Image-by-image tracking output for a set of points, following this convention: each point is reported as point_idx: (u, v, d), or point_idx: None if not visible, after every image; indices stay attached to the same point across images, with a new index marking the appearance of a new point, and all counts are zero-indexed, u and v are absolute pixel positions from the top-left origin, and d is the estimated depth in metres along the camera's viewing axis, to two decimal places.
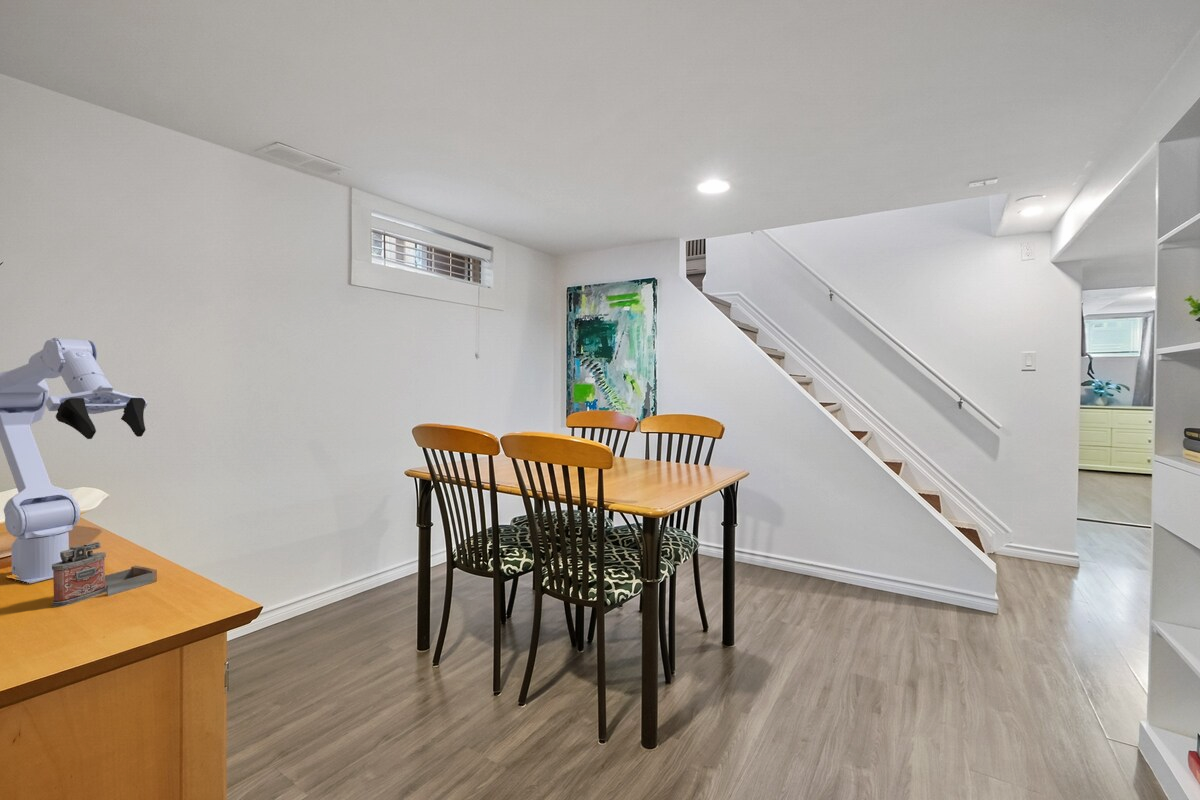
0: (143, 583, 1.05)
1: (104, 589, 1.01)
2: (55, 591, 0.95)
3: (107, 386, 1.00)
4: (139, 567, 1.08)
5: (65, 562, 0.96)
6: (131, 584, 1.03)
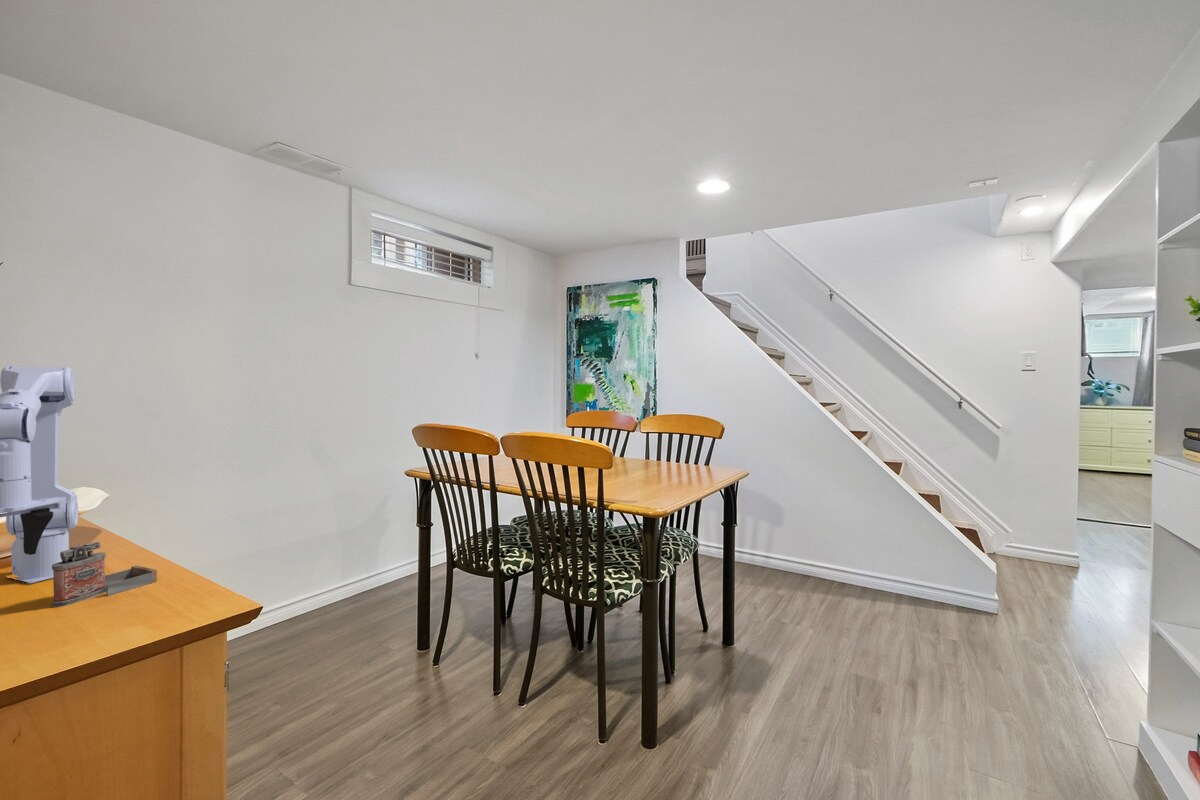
0: (143, 583, 1.05)
1: (104, 589, 1.01)
2: (55, 591, 0.95)
3: (19, 508, 0.88)
4: (139, 567, 1.08)
5: (65, 562, 0.96)
6: (131, 584, 1.03)
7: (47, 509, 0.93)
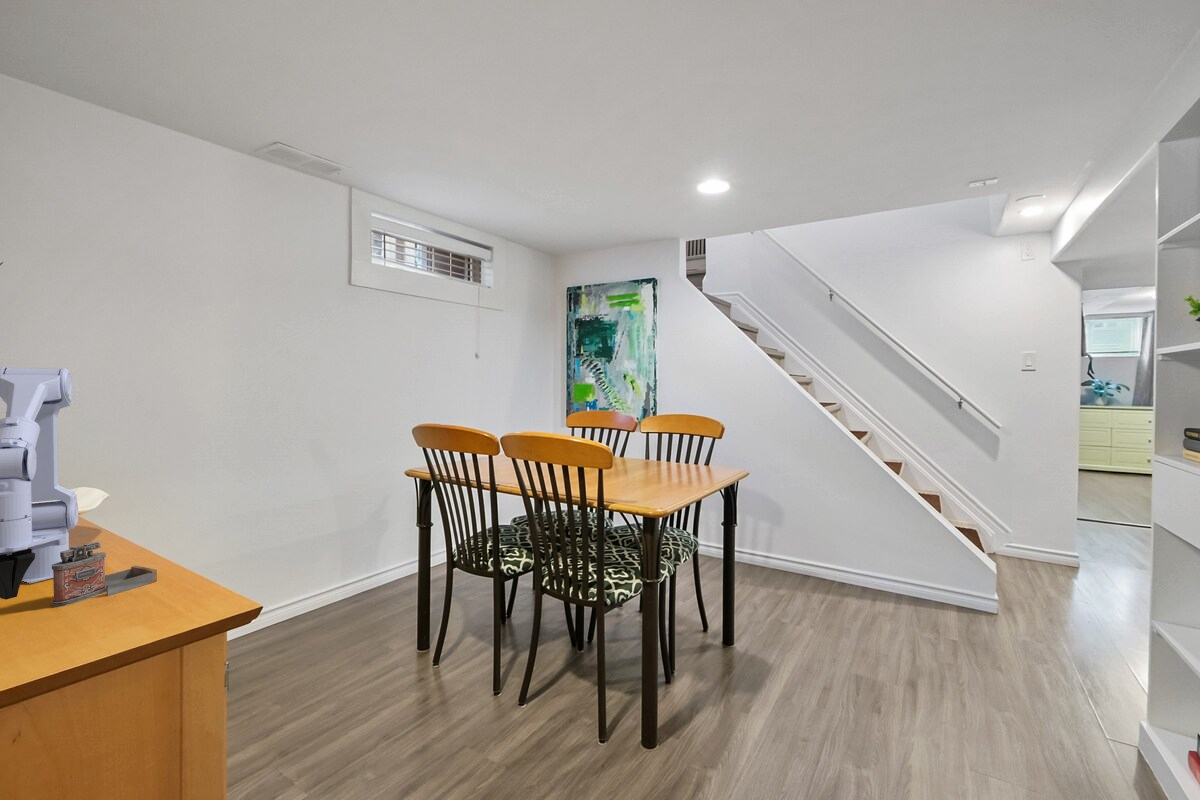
0: (143, 583, 1.05)
1: (104, 589, 1.01)
2: (55, 591, 0.95)
3: (20, 548, 0.88)
4: (139, 567, 1.08)
5: (65, 562, 0.96)
6: (131, 584, 1.03)
7: (48, 546, 0.93)
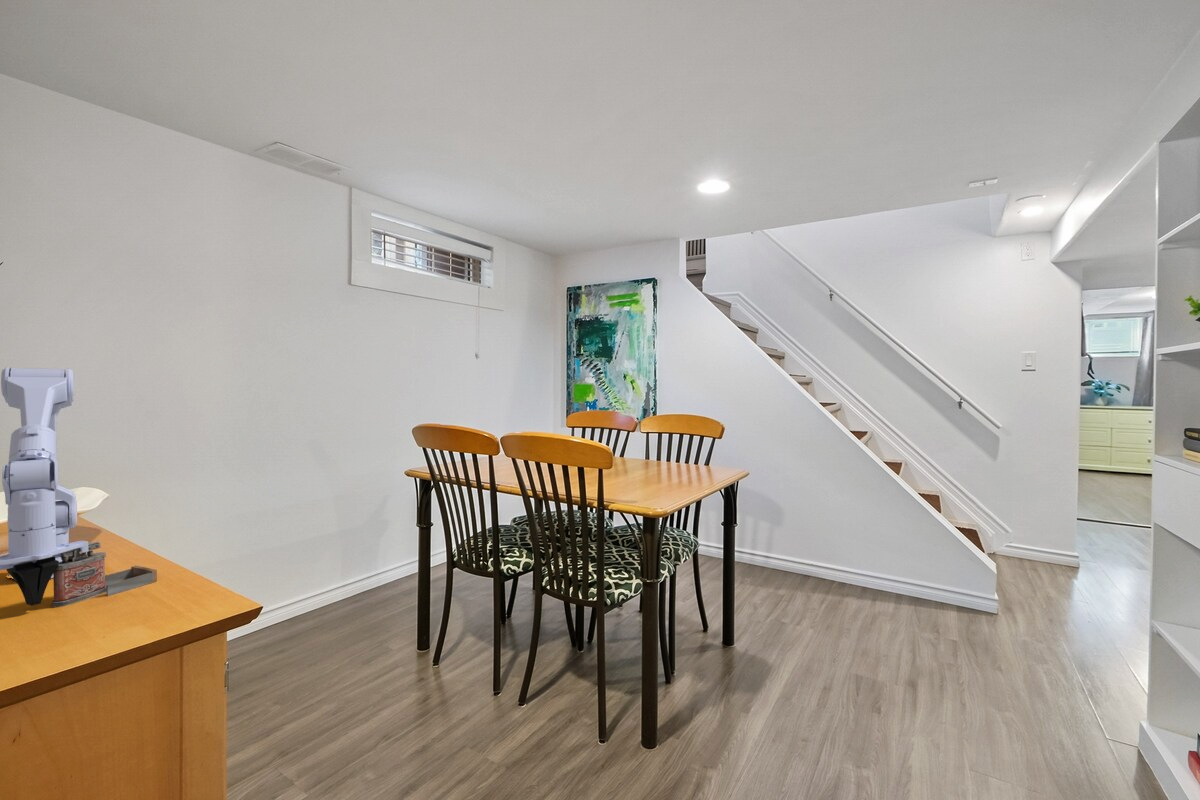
0: (143, 583, 1.05)
1: (104, 589, 1.01)
2: (55, 591, 0.95)
3: (45, 556, 0.91)
4: (139, 567, 1.08)
5: (65, 562, 0.96)
6: (131, 584, 1.03)
7: None
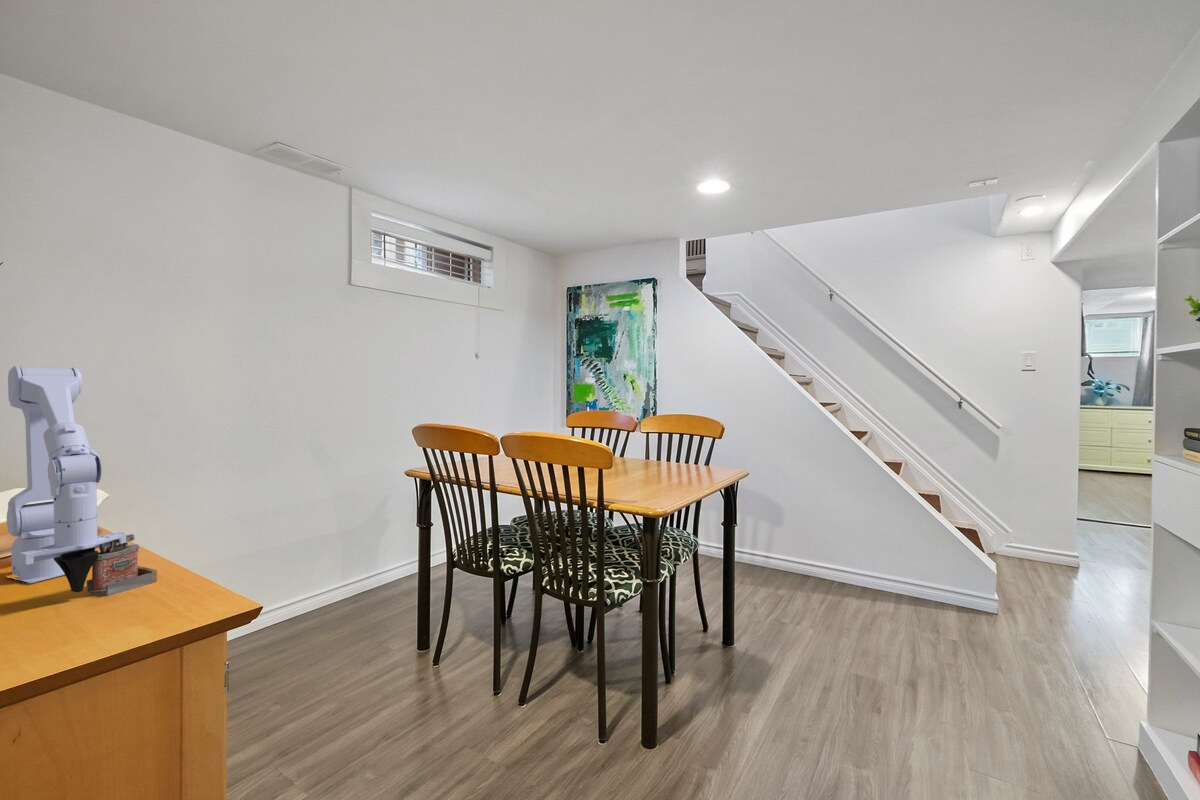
0: (143, 583, 1.05)
1: None
2: (94, 580, 1.00)
3: (89, 546, 0.96)
4: (139, 567, 1.08)
5: (103, 553, 1.01)
6: (131, 584, 1.03)
7: None
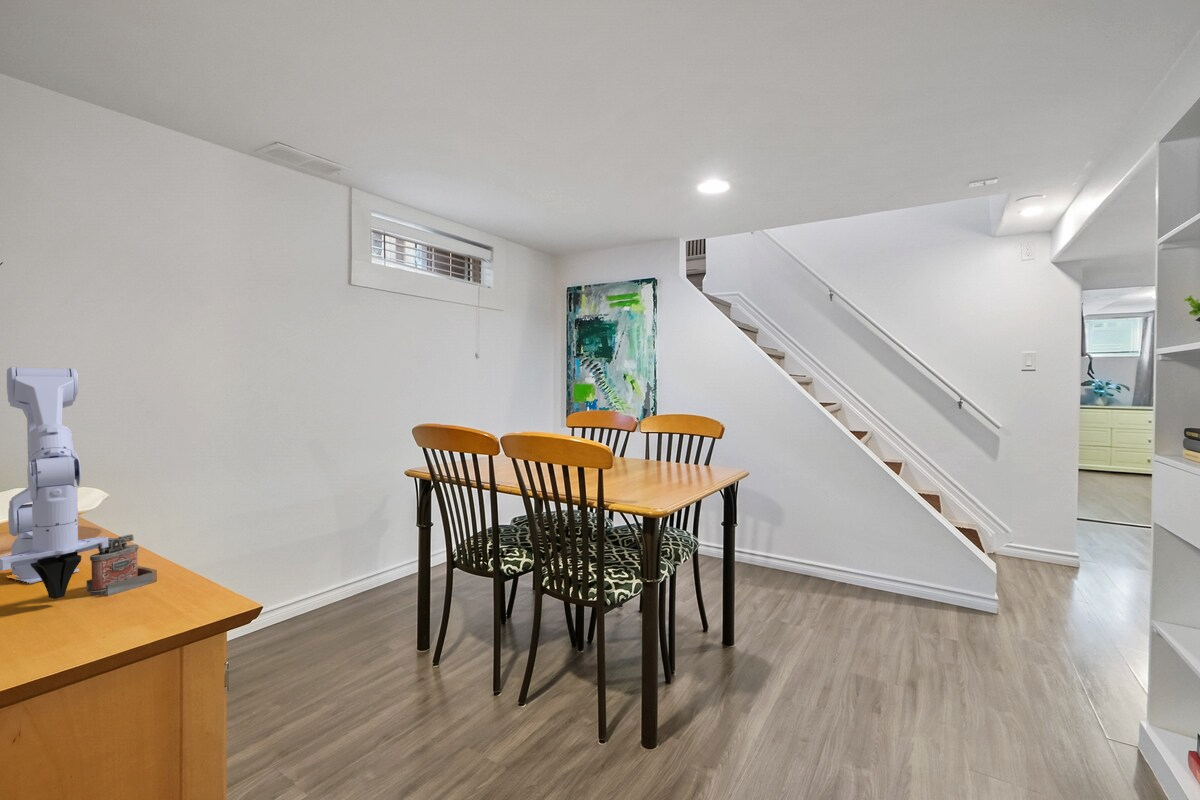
0: (143, 583, 1.05)
1: None
2: (93, 581, 1.00)
3: (69, 550, 0.94)
4: (139, 567, 1.08)
5: (102, 553, 1.01)
6: (131, 584, 1.03)
7: (92, 549, 0.99)
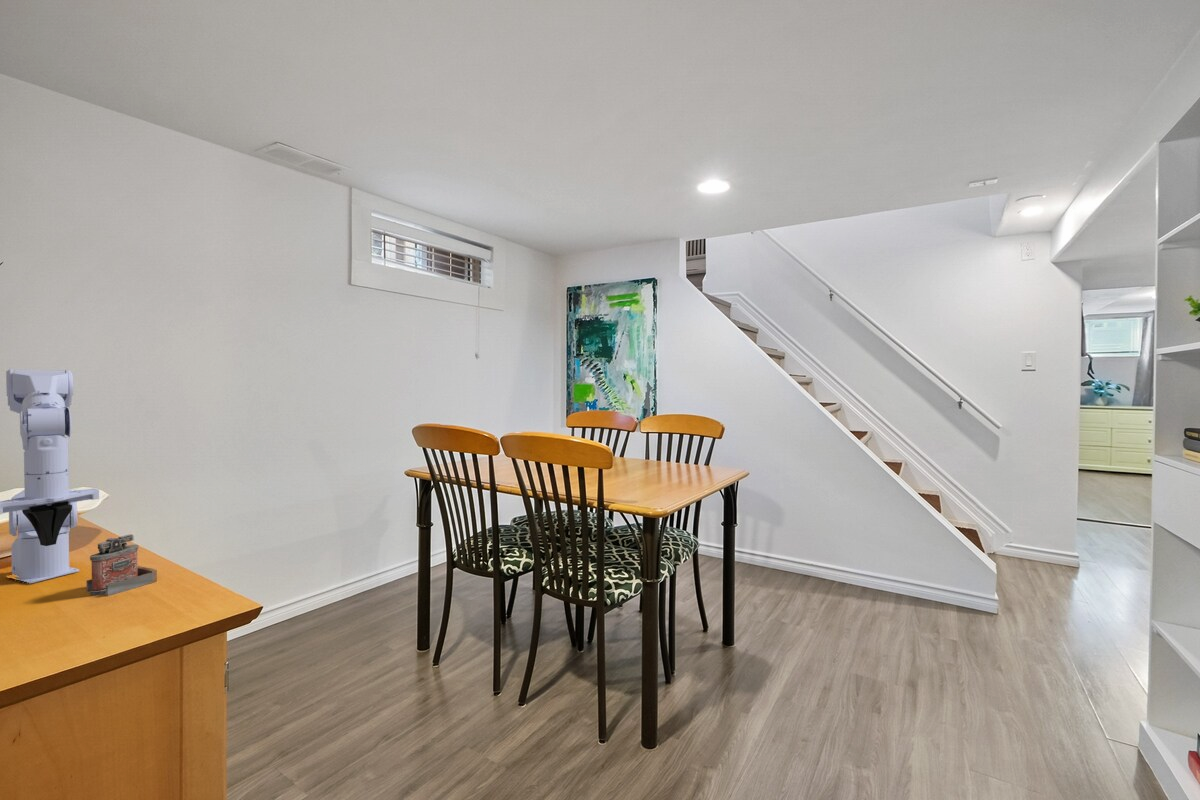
0: (143, 583, 1.05)
1: None
2: (93, 581, 1.00)
3: (59, 498, 0.96)
4: (139, 567, 1.08)
5: (102, 553, 1.01)
6: (131, 584, 1.03)
7: (82, 500, 1.02)
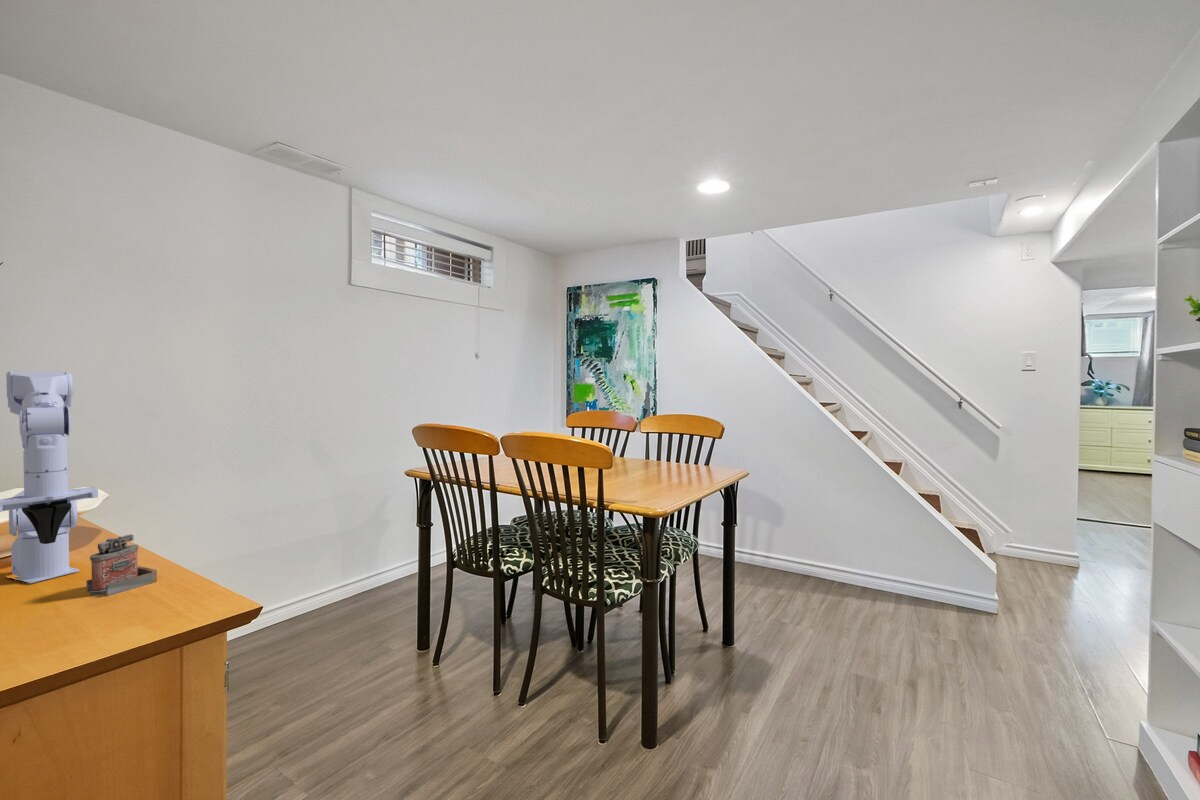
0: (143, 583, 1.05)
1: None
2: (93, 581, 1.00)
3: (59, 497, 0.97)
4: (139, 567, 1.08)
5: (102, 553, 1.01)
6: (131, 584, 1.03)
7: (82, 498, 1.03)
